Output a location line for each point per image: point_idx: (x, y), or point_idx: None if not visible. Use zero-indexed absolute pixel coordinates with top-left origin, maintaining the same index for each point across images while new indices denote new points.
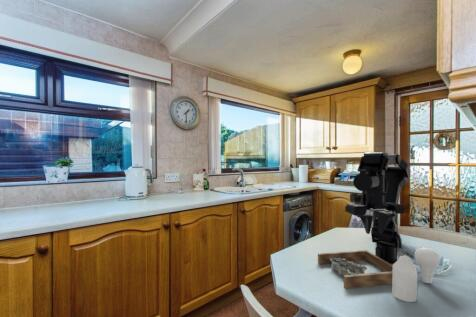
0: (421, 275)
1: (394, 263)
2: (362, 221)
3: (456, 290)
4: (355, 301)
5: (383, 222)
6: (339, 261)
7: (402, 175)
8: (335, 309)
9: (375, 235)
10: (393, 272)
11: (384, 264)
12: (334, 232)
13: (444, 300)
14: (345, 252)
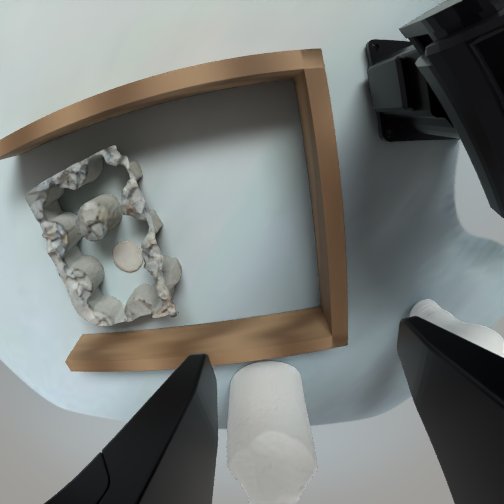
0: (419, 315)
1: (234, 474)
2: (80, 493)
3: None
4: (105, 392)
5: (463, 483)
6: (79, 186)
7: None
8: (61, 403)
9: (434, 85)
10: (227, 448)
11: (324, 242)
12: None
13: (371, 388)
14: (132, 97)
